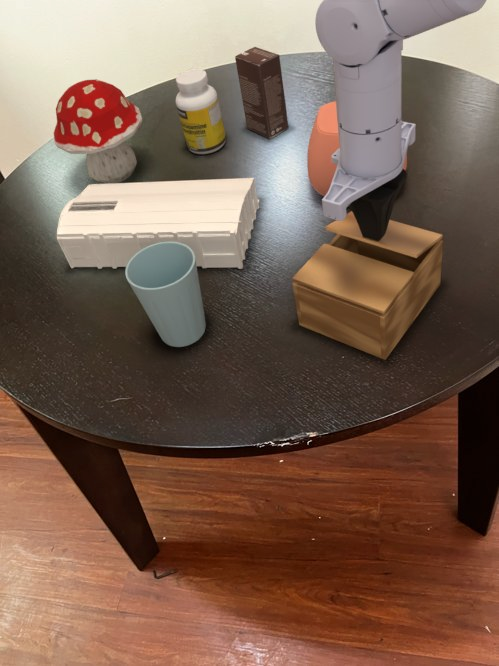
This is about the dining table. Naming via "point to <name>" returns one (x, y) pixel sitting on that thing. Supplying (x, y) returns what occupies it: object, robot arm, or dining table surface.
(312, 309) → the wooden box
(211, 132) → the pill bottle
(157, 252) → the cup
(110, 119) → the decorative mushroom
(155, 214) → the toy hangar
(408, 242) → the flap
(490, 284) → the dining table surface
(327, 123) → the teapot
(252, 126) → the box
